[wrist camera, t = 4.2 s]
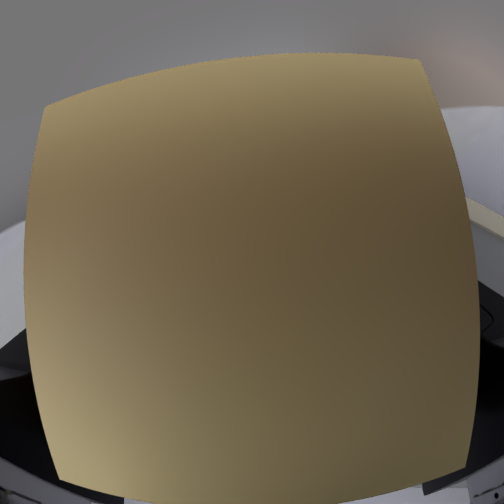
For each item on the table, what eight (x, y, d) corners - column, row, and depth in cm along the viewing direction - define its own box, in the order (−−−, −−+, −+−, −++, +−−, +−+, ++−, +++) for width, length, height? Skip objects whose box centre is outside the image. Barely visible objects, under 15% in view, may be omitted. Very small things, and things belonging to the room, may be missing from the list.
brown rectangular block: (331, 345, 15) (487, 482, 2) (210, 354, 15) (44, 496, 3) (321, 224, 15) (435, 40, 3) (201, 235, 16) (29, 90, 3)
